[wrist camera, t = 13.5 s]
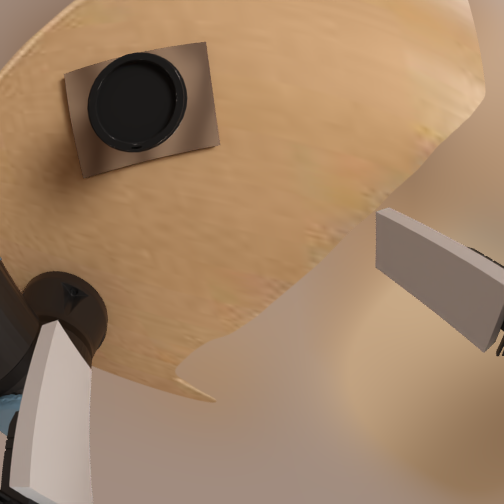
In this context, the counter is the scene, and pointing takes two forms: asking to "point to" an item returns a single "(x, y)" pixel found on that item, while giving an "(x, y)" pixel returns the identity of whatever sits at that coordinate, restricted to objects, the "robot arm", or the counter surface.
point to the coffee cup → (137, 102)
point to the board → (183, 139)
